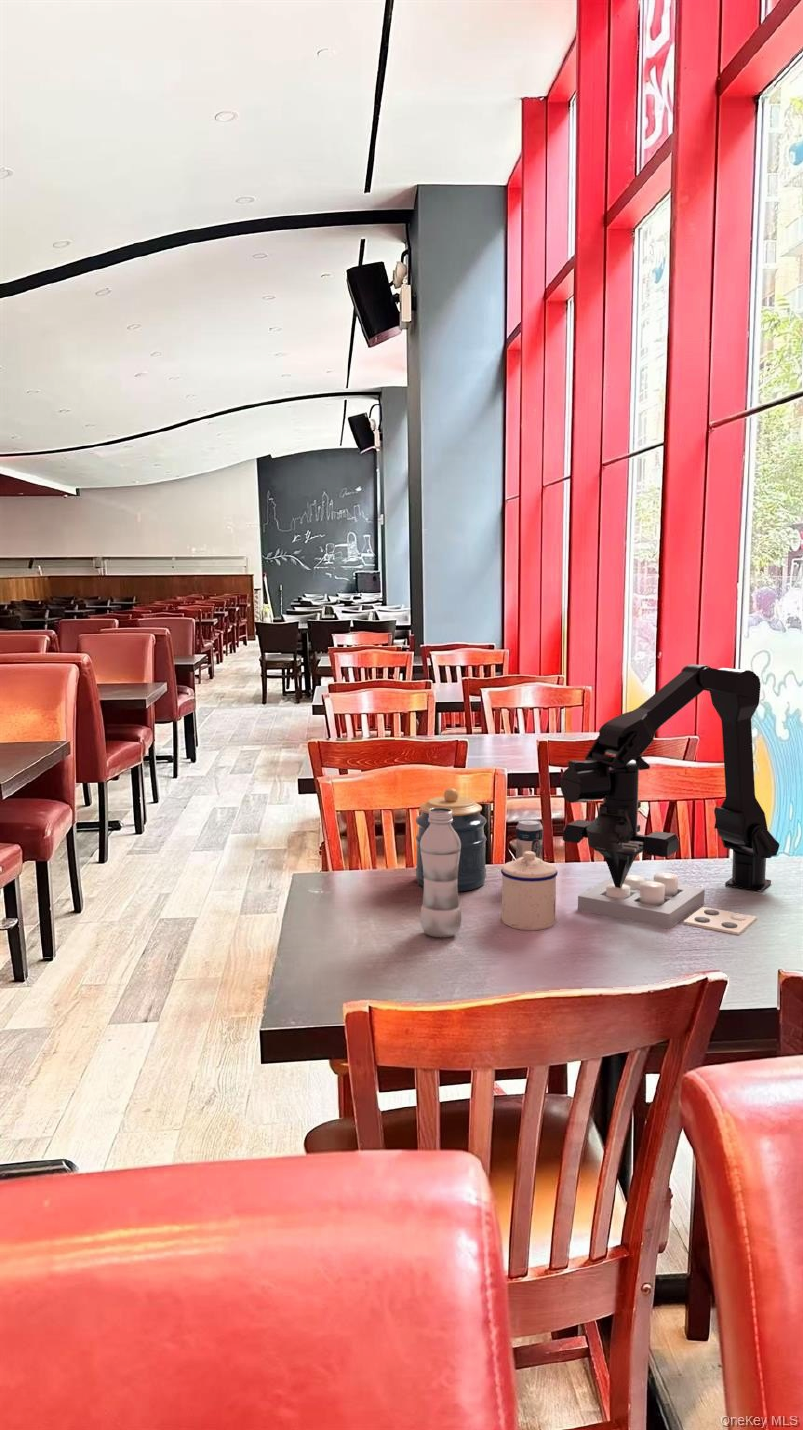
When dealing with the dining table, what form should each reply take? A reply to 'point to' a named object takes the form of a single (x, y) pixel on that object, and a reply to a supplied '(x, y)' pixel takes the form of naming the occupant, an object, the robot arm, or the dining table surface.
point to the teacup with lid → (528, 893)
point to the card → (720, 920)
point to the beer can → (529, 838)
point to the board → (642, 905)
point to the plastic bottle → (440, 875)
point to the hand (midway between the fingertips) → (618, 887)
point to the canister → (469, 833)
